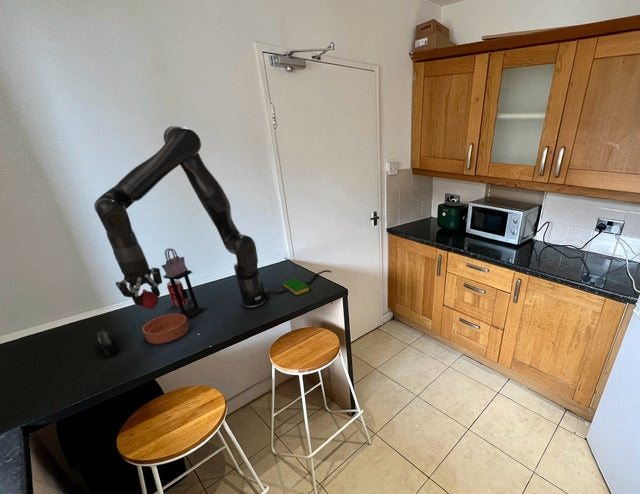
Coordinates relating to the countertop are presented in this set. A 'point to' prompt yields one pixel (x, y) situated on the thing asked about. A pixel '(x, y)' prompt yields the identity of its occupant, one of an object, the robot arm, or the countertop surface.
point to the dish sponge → (296, 286)
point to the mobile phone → (106, 343)
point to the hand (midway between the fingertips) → (148, 300)
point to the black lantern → (177, 271)
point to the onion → (149, 299)
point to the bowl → (165, 328)
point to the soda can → (179, 287)
